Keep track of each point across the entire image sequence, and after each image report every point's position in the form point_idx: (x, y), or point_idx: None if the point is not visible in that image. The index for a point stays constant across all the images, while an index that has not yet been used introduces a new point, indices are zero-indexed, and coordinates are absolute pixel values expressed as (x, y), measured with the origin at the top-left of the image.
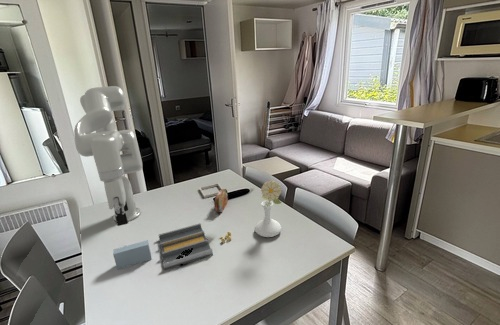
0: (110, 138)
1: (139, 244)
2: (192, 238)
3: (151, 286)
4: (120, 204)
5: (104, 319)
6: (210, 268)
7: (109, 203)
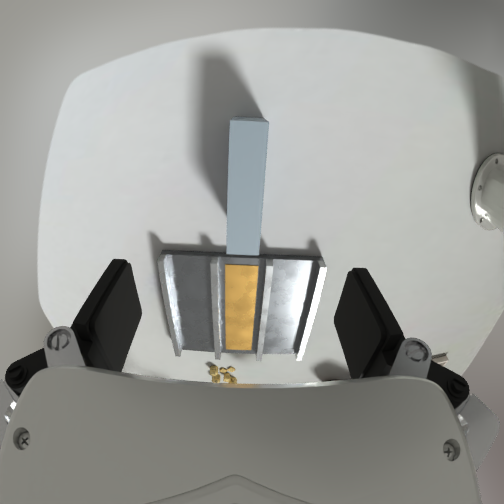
0: None
1: (244, 225)
2: (257, 332)
3: (116, 213)
4: (364, 341)
5: (61, 111)
6: (138, 329)
7: (5, 445)
